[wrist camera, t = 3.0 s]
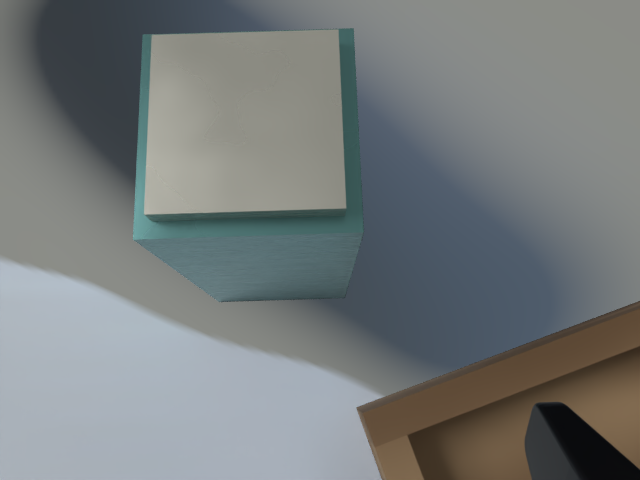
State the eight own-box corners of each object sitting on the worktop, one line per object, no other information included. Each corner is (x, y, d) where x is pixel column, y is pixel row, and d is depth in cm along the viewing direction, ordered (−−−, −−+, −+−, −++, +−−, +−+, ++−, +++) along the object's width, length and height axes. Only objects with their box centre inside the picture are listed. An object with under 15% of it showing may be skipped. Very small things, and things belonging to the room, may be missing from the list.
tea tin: (344, 298, 20) (366, 225, 11) (219, 301, 20) (124, 233, 11) (339, 178, 21) (354, 13, 12) (220, 182, 21) (134, 20, 12)
